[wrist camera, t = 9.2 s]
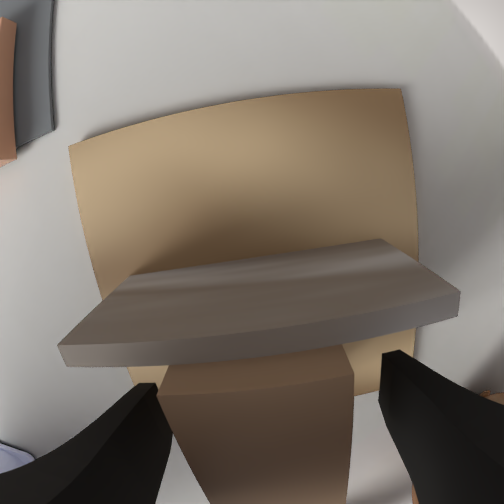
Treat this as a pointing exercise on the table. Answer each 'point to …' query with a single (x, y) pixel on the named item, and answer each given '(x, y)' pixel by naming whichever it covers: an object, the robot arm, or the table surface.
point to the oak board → (251, 192)
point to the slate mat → (31, 67)
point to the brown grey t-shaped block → (262, 358)
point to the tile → (7, 91)
